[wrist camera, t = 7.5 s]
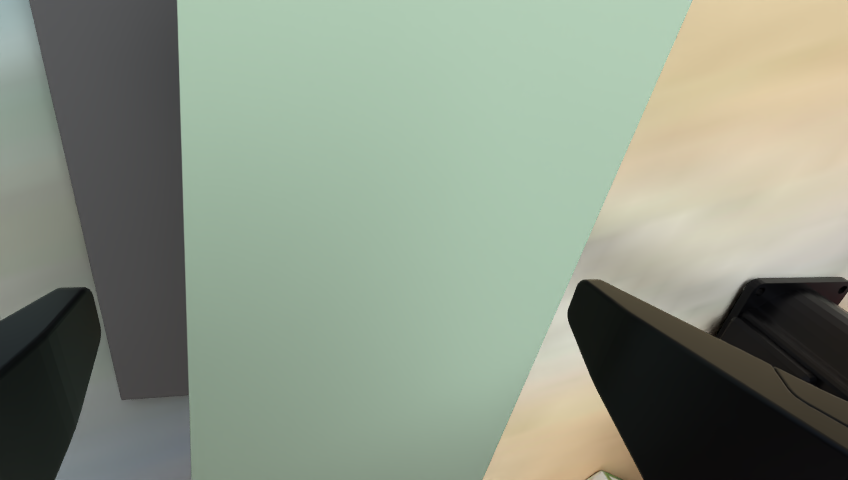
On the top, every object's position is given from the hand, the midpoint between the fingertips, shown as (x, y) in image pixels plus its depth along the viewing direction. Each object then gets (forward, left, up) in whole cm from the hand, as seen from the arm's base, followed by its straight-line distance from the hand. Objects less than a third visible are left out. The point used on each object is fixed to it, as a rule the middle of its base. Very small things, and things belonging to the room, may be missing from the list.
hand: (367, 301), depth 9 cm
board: (0, 0, -3) cm, 3 cm away
